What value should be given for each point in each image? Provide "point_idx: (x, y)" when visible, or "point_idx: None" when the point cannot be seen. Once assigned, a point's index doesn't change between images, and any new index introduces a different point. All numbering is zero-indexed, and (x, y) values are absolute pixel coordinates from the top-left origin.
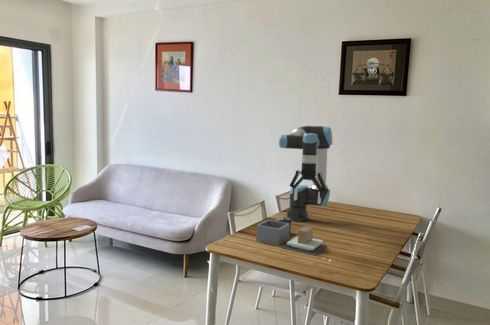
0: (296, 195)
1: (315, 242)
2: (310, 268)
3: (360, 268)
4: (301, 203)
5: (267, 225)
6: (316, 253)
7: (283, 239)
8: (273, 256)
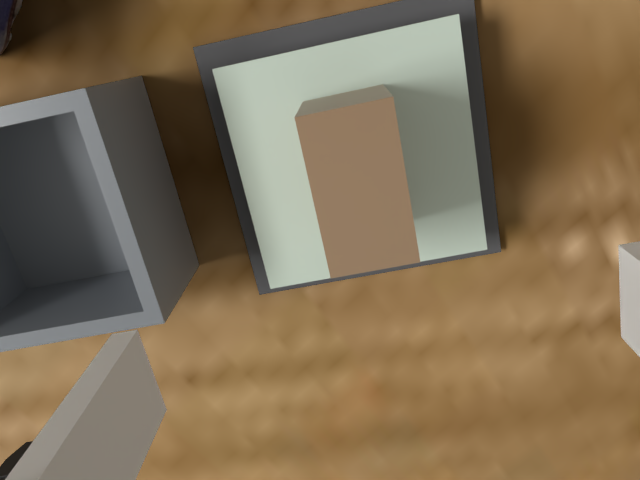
0: (117, 418)
1: (436, 122)
2: (574, 431)
3: None
4: None
5: None
6: (495, 214)
7: (168, 191)
8: (311, 431)
